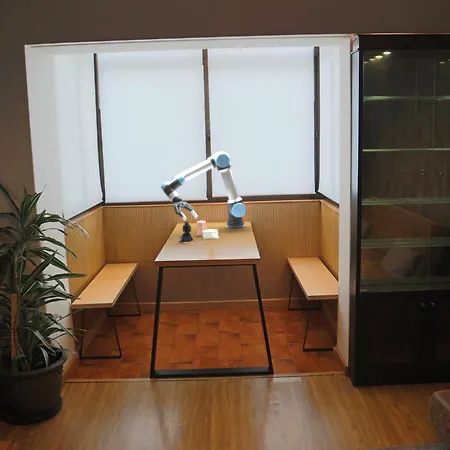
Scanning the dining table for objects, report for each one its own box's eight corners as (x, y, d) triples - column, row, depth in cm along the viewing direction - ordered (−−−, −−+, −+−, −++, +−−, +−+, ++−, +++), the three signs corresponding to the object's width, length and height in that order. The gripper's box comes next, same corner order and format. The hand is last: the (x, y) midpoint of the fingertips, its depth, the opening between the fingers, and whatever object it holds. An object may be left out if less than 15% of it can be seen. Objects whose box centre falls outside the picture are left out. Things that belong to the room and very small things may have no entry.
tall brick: (201, 236, 417) (200, 220, 416) (206, 236, 415) (205, 221, 413) (197, 237, 413) (196, 221, 412) (202, 237, 411) (202, 222, 409)
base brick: (209, 235, 409) (209, 229, 409) (218, 236, 405) (217, 230, 404) (203, 237, 403) (202, 231, 402) (211, 238, 398) (211, 231, 398)
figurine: (194, 242, 392) (192, 222, 390) (177, 242, 395) (176, 222, 392) (197, 240, 400) (195, 220, 398) (181, 240, 403) (179, 220, 400)
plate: (216, 236, 410) (216, 235, 410) (219, 239, 400) (219, 237, 400) (202, 238, 409) (202, 236, 408) (204, 240, 398) (204, 239, 398)
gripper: (183, 200, 435) (198, 219, 429) (162, 203, 415) (178, 224, 409) (187, 193, 431) (203, 213, 425) (167, 197, 411) (183, 217, 405)
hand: (191, 218), depth 417 cm, fingers open, 13 cm apart
